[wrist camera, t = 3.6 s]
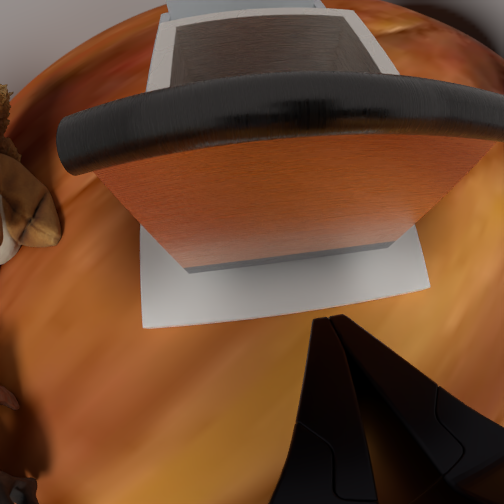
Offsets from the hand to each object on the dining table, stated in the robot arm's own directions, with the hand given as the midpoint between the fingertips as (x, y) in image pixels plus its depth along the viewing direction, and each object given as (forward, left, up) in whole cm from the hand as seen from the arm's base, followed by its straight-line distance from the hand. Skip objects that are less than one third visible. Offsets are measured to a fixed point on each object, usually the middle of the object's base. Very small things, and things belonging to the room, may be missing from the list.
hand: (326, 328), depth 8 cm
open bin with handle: (+6, -6, -6) cm, 10 cm away
